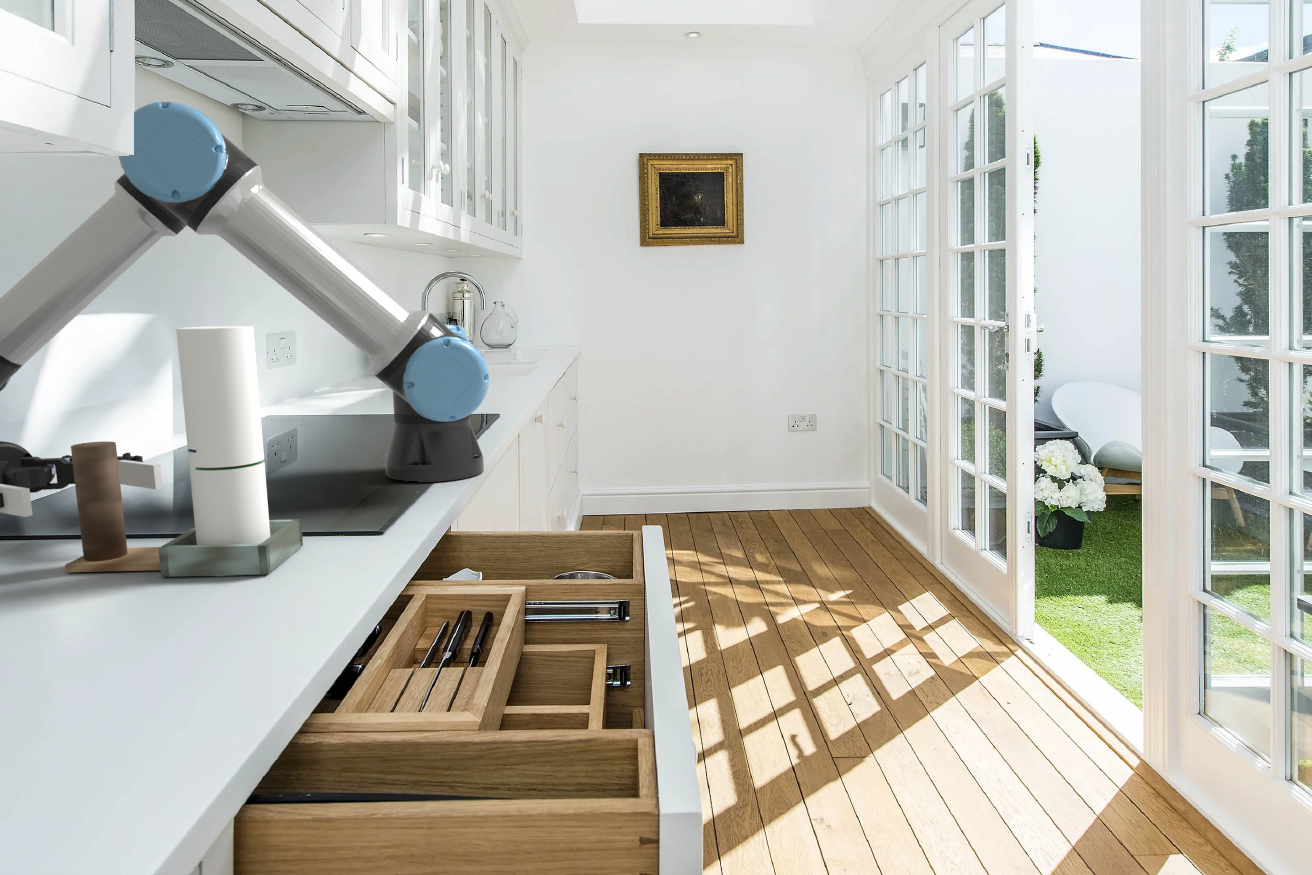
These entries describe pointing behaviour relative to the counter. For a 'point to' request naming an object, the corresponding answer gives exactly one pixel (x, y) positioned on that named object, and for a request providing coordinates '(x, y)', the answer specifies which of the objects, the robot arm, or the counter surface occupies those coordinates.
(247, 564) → the holder stand
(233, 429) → the cylindrical container
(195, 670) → the counter surface
